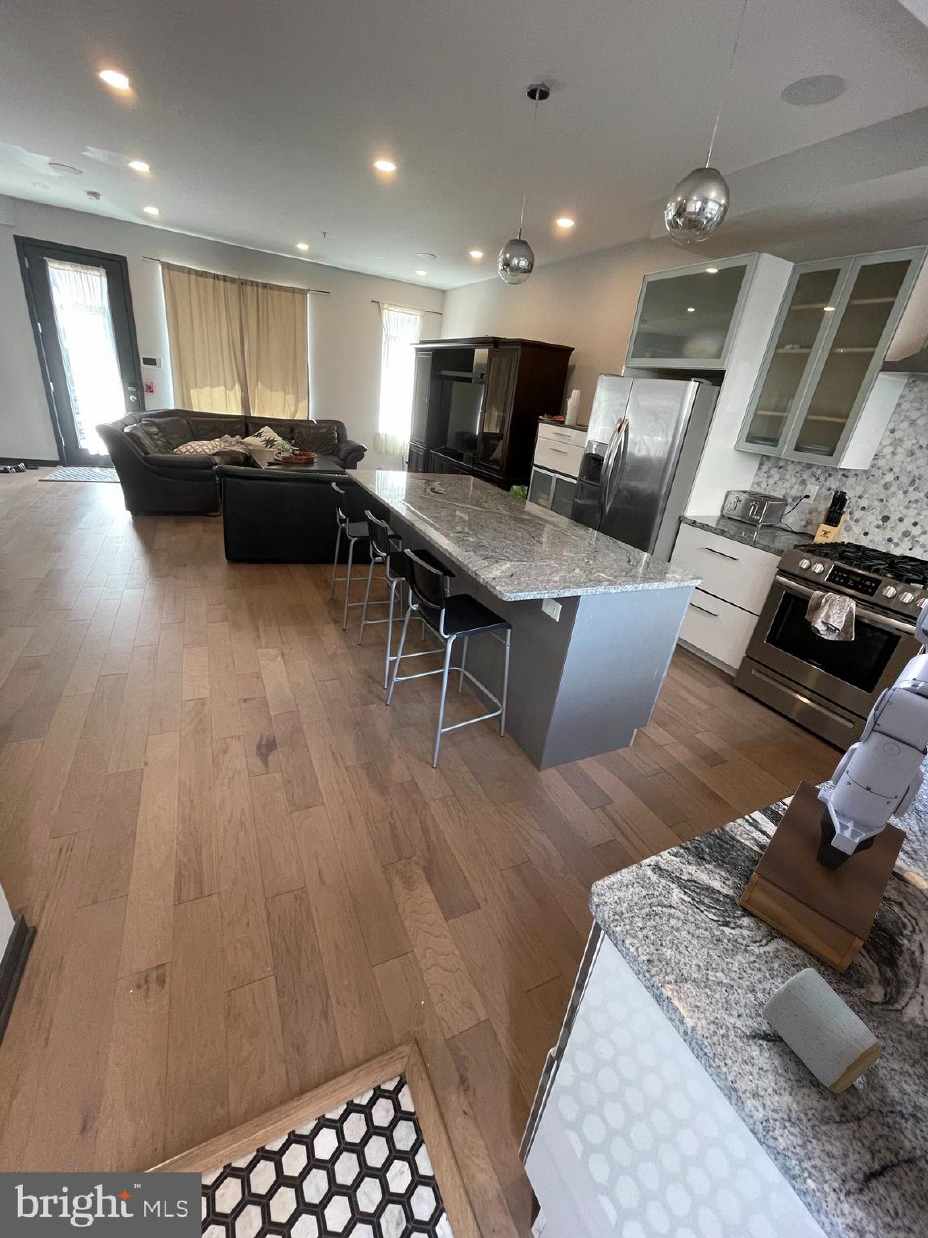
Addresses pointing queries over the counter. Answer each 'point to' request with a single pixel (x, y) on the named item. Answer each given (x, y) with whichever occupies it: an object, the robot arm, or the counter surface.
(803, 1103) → the counter surface
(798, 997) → the ceramic mug
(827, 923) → the box
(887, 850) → the lid
